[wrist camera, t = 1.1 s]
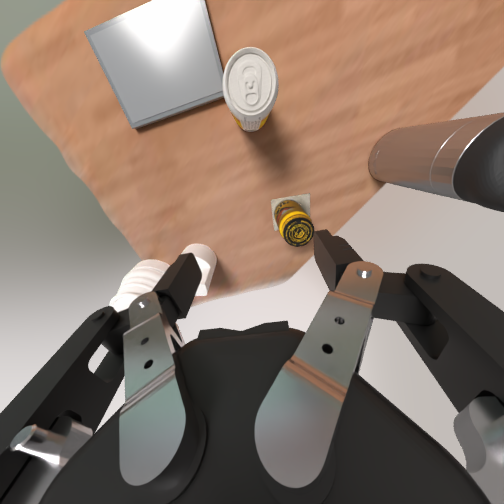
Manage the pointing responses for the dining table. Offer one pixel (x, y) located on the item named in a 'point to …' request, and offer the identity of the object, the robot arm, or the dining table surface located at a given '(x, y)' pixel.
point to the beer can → (250, 87)
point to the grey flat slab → (159, 59)
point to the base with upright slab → (203, 265)
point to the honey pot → (138, 282)
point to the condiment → (293, 219)
